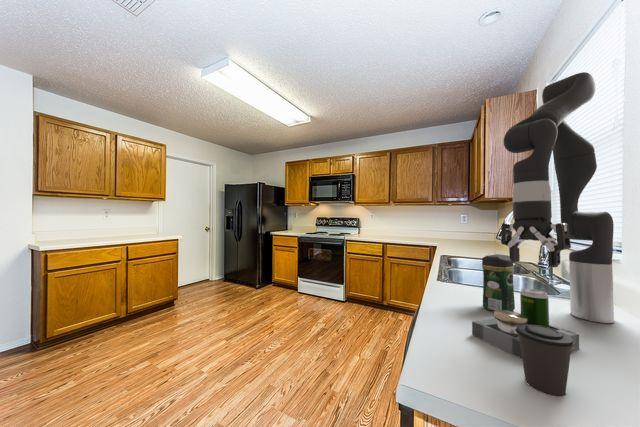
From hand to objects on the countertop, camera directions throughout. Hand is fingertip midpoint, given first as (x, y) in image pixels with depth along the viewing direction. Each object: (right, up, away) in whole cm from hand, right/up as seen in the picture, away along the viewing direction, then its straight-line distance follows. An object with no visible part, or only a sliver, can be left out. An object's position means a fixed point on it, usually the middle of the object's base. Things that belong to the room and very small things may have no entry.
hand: (533, 264), depth 63 cm
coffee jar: (+6, -20, +21) cm, 30 cm away
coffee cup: (-14, -18, -19) cm, 30 cm away
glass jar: (-8, -19, -3) cm, 21 cm away
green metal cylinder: (0, -19, -1) cm, 19 cm away
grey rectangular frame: (-4, -19, -2) cm, 19 cm away
